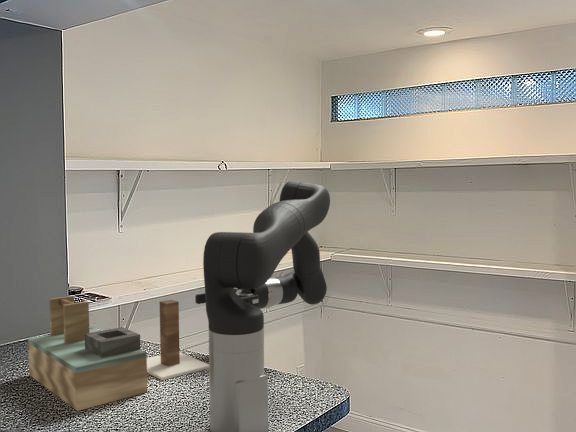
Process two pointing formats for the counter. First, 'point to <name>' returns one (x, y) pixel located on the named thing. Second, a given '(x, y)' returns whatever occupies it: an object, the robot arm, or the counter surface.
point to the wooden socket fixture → (86, 358)
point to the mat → (174, 367)
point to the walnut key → (169, 332)
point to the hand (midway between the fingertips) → (206, 302)
